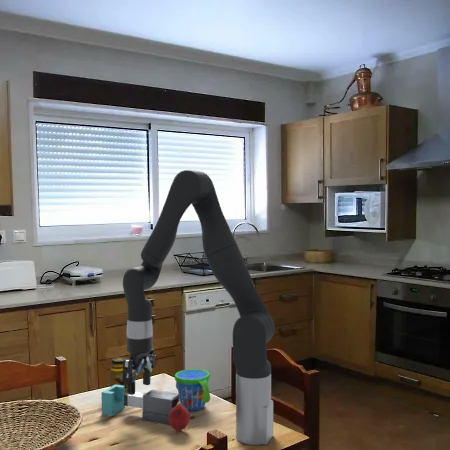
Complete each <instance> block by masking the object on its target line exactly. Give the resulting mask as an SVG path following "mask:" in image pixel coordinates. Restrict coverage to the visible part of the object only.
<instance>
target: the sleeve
mask: <svg viewBox="0 0 450 450" xmlns="http://www.w3.org/2000/svg"><path fill="white" fill-rule="evenodd" d="M145 393H146V394H145V395H143V408H142V412H141V413H142V415H141V416H142V419H141V420H142V421H144V422H148V423H149V422H150V423H153V424H154V423H155V424H158V425H165V426H170V424H169V421H168V417H169V413H170V411H171V410H172V409H173V408H174V407H175V406H176V405H177V403H178V402H180V401H179V394H178V392H169V391H163V390H157V389H151V390H149V391H148V392H145Z"/></svg>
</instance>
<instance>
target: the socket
mask: <svg viewBox="0 0 450 450" xmlns="http://www.w3.org/2000/svg"><path fill="white" fill-rule="evenodd" d="M124 394H125V386H122V385H113V386H112V387H111V386H110V387H108V388H107V389H105V390H102V391H101V397H102V398H101V415H104V416H110V417H112V416H114V415H116V414H117V413H119V412H120V411H122V410H123V409H125V408H126V406H124Z"/></svg>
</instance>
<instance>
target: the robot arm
mask: <svg viewBox="0 0 450 450" xmlns="http://www.w3.org/2000/svg"><path fill="white" fill-rule="evenodd" d="M190 206H192V207H193V208H194V211H195V213H196V215H197V217H198V220H199V223H200V226H201V239H202V241H201V242H202V248H203V249H202V250H203V253H204V256H205V259H206V261H207V263H208V266H209V268H210V270H211V273H212V274H213V276H214V277H215V279H216V280H217V282H218V283H220V285H221V286H222V287H223V288H224V290H225V291H226V292H227V293H228V294H229V296H230V298H231V299H232V300H233V302H234V304H235V307H236V309H237V311H238V313H239V318H238V319H236V320H235V322H234V324H233V329H232V357H233V363H234V366H235V396H236V397H235V437H236V439H237V441H239V442H241V443H242V444H245V445H250V446H251V445H252V446H260V445H268V444H269V442H271V439H272V438H273V437H274V400H273V399H272V364H271V362H270V361H269V360H268V356H267V355H268V354H267V343H269V342H270V341H271V339H272V338H273V336H274V334H275V323H274V320H273V317H272V316H271V314H270V313H269V310H268V308H267V307H266V305H265V303H264V301H263V300H262V298H261V296H260V294H259V292H258V291H257V289H256V286H255V283H254V282H253V279H252V276H251V273H250V271H249V269H248V267H247V265H246V262H245V260H244V256H243V255H242V252H241V250H240V248H239V246H238V243H237V241H236V239H235V237H234V235H233V233H232V230H231V228H230V225H229V224H228V222H227V219H226V218H225V215H224V213H223V210H222V207H221V204H220V201H219V199H218V194H217V191H216V188H215V184H214V182H213V180H212V179H211V177H210V176H209V174H207V173H205V172H203V171H201V170H193V169H183V170H181V171H179V172H178V173H177V174H176V175H175V177H174V178H173V180H172V183H171V185H170V188H169V190H168V193H167V196H166V199H165V202H164V205H163V206H162V210H161V212H160V214H159V217H158V219H157V221H156V224H155V226H154V228H153V230H152V232H151V234H150V236H149V237H148V239H147V241H146V242H145V244H144V246H143V248H142V249H141V253H140V258H141V260H142V263H141V264H140V265H139V266H136V267H135V266H134V267H131V268H129V269H127V270H126V271H125V272H124V274H123V278H122V289H123V293H124V296H125V301H126V303H127V304H126V305H127V323H126V344H125V345H126V352H128V353H129V359H128V360H123V374H122V380H123V381H127V393H128V394H130V395H134V394H135V392H136V379H137V376H138V375H140V371H143V372H142V384H143V385H144V386H150V385H151V375H152V374H151V373H152V371H153V369H155V366H156V351H155V349H154V348H153V335H154V332H153V329H154V327H153V319H152V318H153V317H152V316H153V304H152V301H151V299H148V298H146V295H145V290H149V289H151V288H153V286H154V285H155V284H156V283H157V281H158V280H159V277H160V274H161V272H162V267H163V264H164V261H165V260H166V258H167V257H168V255H169V253H170V252H171V250H172V248H173V246H174V244H175V241H176V238H177V234H178V233H177V232H178V227H179V225H180V222H181V219H182V217H183V216H184V214H185V213H186V211H187V210H188V208H189V207H190ZM126 373H128V374H127V377H126Z"/></svg>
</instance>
